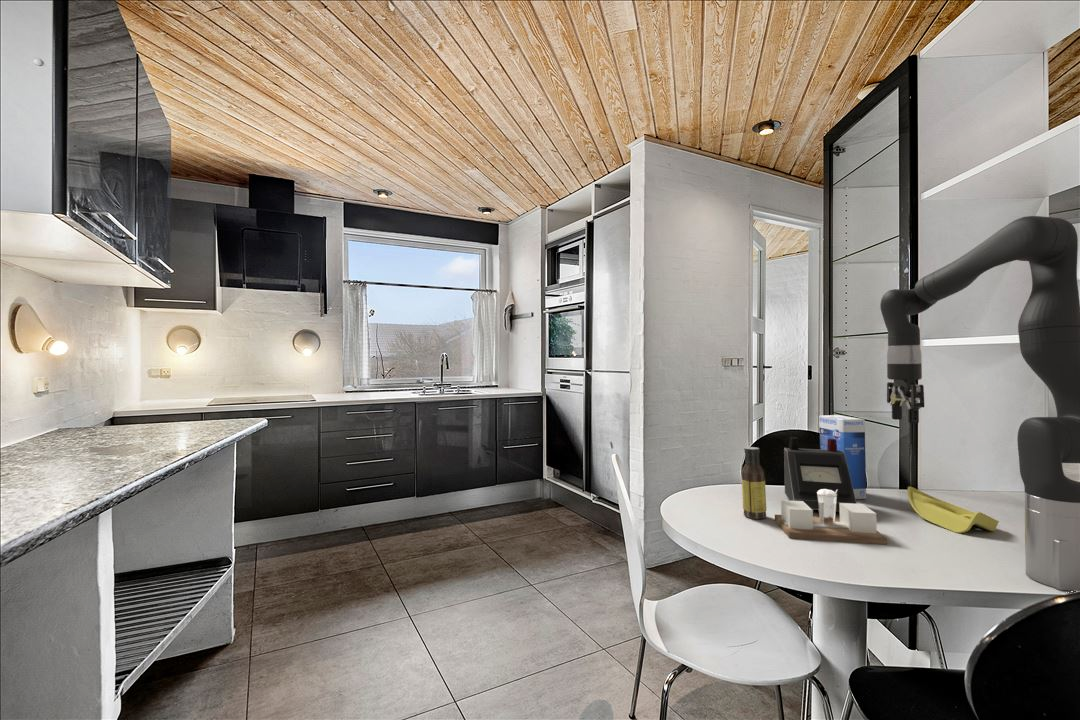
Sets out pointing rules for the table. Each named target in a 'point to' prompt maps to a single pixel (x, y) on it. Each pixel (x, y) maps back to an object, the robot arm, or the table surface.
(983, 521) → the plastic component
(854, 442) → the string lights box
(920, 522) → the table surface
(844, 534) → the rail board
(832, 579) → the table surface
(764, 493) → the sauce bottle
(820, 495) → the milkshake
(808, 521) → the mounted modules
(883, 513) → the table surface
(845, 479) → the voltmeter
